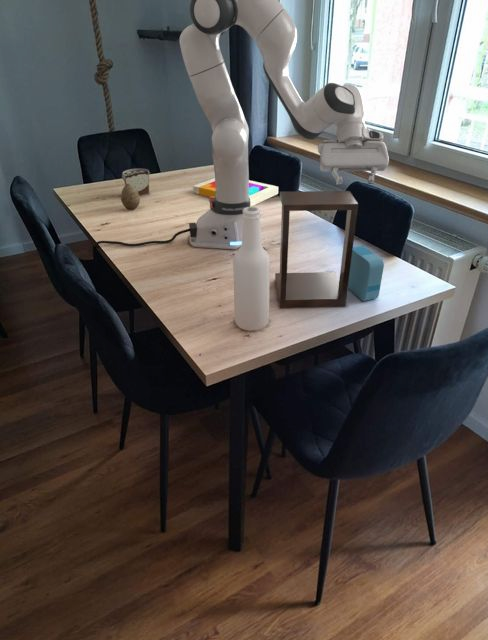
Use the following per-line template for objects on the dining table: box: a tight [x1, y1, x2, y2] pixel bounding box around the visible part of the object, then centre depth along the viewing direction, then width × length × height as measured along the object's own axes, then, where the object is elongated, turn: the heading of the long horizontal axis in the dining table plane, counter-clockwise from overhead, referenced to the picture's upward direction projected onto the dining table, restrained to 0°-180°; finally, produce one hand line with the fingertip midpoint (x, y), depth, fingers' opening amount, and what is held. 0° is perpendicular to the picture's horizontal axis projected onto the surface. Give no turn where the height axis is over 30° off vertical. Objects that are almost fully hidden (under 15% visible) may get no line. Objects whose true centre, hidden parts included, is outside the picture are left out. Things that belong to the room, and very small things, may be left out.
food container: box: [121, 168, 151, 198], centre depth 204 cm, size 12×6×10 cm, turn 133°
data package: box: [348, 245, 385, 302], centre depth 136 cm, size 12×4×12 cm, turn 22°
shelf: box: [274, 190, 359, 309], centre depth 130 cm, size 18×16×28 cm
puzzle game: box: [192, 177, 279, 207], centre depth 206 cm, size 30×3×30 cm
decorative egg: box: [120, 184, 141, 211], centre depth 190 cm, size 7×7×10 cm
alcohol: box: [232, 206, 271, 332], centre depth 117 cm, size 9×9×30 cm
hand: (355, 183), depth 142 cm, fingers open, 8 cm apart
